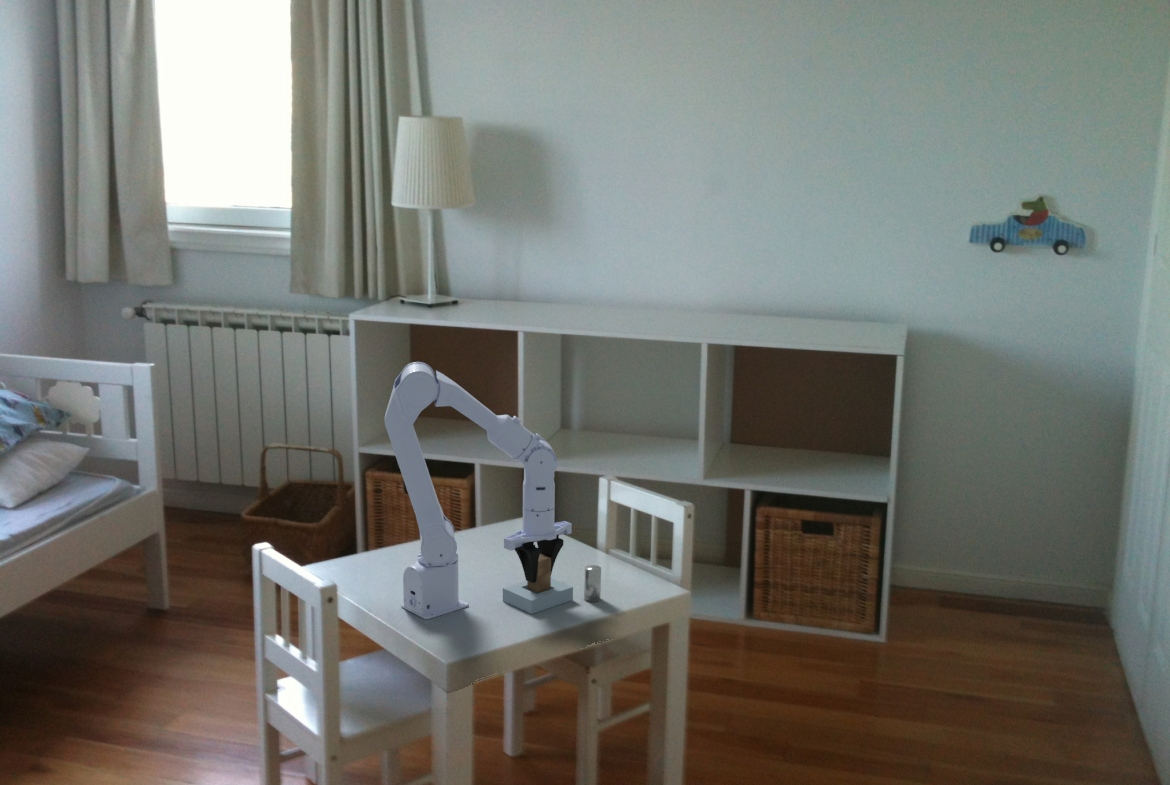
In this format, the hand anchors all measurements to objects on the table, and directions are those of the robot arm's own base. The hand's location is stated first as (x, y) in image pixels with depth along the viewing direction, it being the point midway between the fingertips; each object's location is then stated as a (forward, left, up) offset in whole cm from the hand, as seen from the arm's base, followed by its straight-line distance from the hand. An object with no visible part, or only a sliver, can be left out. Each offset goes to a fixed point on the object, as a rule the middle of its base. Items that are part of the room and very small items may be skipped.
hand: (538, 578), depth 206 cm
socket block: (0, 0, -4) cm, 4 cm away
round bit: (+8, -6, -4) cm, 11 cm away
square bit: (0, 0, -2) cm, 2 cm away
